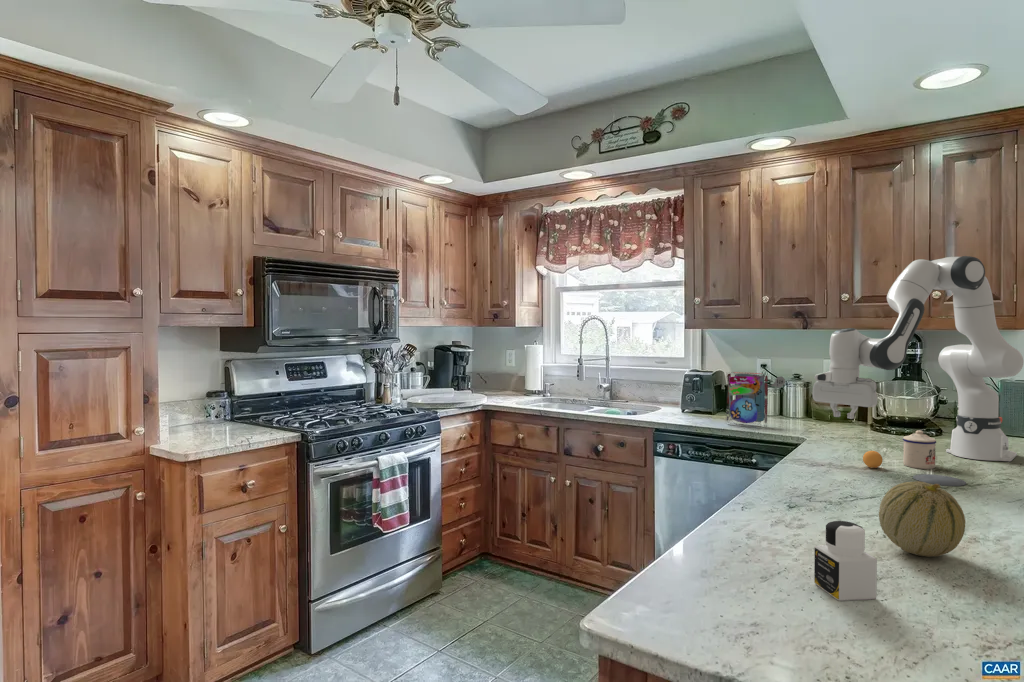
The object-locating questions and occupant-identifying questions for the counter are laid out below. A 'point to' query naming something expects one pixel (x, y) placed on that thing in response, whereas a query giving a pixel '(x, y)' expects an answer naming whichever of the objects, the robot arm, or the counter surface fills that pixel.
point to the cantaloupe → (922, 518)
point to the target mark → (939, 480)
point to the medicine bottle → (845, 563)
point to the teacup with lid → (919, 451)
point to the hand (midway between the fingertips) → (843, 417)
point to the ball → (872, 459)
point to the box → (749, 397)
